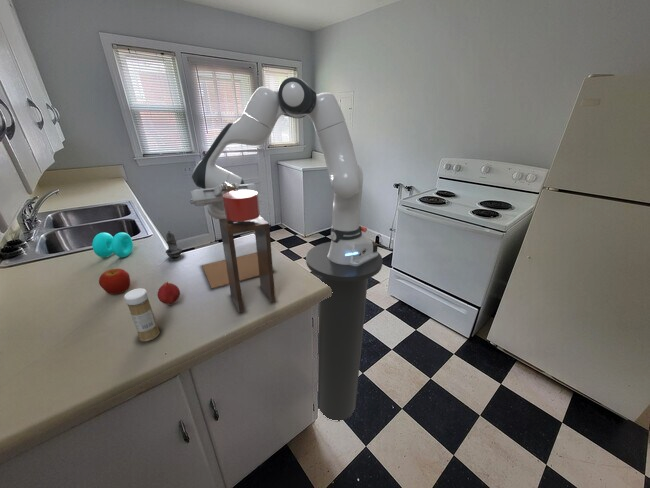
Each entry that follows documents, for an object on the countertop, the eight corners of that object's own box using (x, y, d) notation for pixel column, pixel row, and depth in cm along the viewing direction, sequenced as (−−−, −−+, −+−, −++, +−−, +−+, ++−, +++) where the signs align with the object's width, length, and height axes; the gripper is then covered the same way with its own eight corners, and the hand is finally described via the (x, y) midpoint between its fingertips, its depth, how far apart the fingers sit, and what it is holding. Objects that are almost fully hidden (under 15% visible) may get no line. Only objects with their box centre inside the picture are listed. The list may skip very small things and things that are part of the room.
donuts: (112, 250, 114) (104, 228, 110) (137, 250, 114) (130, 228, 110) (95, 262, 105) (86, 238, 101) (122, 261, 105) (114, 238, 101)
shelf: (263, 286, 91) (257, 213, 81) (275, 301, 84) (269, 223, 73) (231, 295, 86) (218, 219, 75) (239, 313, 78) (227, 230, 68)
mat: (257, 253, 114) (257, 252, 114) (274, 272, 100) (274, 271, 100) (202, 266, 103) (202, 265, 103) (211, 289, 89) (211, 288, 89)
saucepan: (241, 198, 89) (238, 179, 86) (264, 217, 72) (262, 195, 69) (212, 202, 85) (209, 182, 82) (230, 223, 68) (226, 199, 65)
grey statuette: (185, 254, 112) (178, 227, 107) (182, 260, 107) (175, 232, 102) (169, 255, 110) (162, 228, 105) (165, 262, 105) (158, 234, 100)
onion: (156, 308, 80) (149, 286, 76) (169, 297, 85) (163, 275, 82) (174, 310, 79) (168, 288, 76) (186, 299, 84) (180, 277, 81)
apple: (110, 301, 83) (102, 279, 79) (99, 293, 86) (90, 272, 83) (137, 289, 89) (130, 268, 85) (126, 282, 92) (119, 262, 89)
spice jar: (160, 327, 73) (146, 285, 67) (159, 338, 69) (145, 295, 63) (140, 333, 71) (124, 290, 65) (138, 345, 67) (122, 300, 61)
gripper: (187, 194, 88) (188, 180, 75) (249, 187, 97) (258, 173, 85) (192, 213, 87) (193, 201, 75) (253, 204, 97) (263, 192, 85)
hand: (228, 186), depth 80 cm, fingers closed on saucepan, 2 cm apart
